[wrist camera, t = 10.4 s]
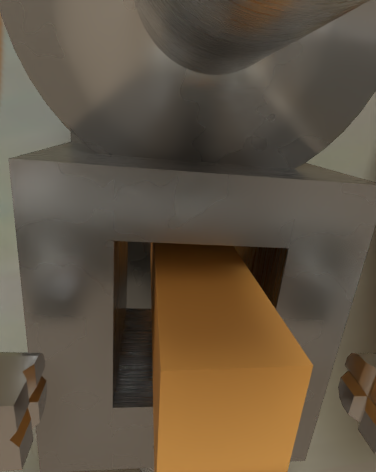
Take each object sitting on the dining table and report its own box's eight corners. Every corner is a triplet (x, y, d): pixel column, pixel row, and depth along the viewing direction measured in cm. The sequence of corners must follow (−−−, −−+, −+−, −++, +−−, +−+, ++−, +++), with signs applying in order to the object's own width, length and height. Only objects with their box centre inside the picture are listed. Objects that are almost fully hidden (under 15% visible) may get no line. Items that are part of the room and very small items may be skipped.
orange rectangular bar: (201, 199, 19) (313, 365, 6) (196, 259, 21) (280, 498, 8) (151, 197, 19) (160, 371, 6) (150, 258, 20) (155, 511, 7)
